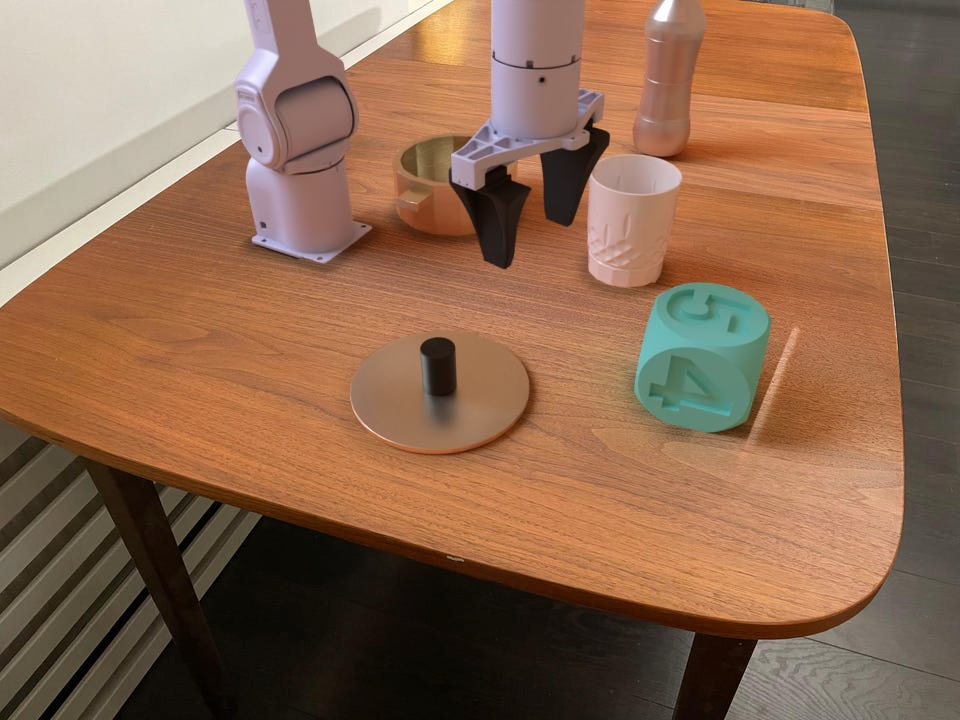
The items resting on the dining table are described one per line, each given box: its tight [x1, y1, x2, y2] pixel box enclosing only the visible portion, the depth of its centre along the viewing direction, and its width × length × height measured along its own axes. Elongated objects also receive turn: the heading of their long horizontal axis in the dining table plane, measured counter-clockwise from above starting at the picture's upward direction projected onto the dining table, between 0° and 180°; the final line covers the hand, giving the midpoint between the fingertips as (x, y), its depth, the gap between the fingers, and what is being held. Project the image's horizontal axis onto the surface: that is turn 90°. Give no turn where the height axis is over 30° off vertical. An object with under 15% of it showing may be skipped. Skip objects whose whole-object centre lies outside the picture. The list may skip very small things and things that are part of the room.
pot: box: [391, 132, 519, 237], centre depth 79 cm, size 13×18×6 cm
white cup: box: [586, 153, 684, 289], centre depth 68 cm, size 8×8×10 cm
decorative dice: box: [633, 281, 773, 433], centre depth 55 cm, size 8×8×8 cm
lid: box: [349, 330, 530, 455], centre depth 57 cm, size 14×14×5 cm
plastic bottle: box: [632, 0, 708, 157], centre depth 86 cm, size 6×7×20 cm
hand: (529, 241), depth 57 cm, fingers open, 7 cm apart
